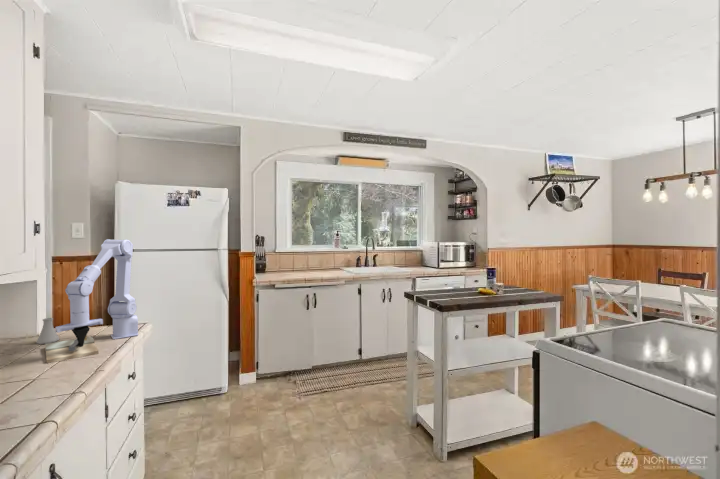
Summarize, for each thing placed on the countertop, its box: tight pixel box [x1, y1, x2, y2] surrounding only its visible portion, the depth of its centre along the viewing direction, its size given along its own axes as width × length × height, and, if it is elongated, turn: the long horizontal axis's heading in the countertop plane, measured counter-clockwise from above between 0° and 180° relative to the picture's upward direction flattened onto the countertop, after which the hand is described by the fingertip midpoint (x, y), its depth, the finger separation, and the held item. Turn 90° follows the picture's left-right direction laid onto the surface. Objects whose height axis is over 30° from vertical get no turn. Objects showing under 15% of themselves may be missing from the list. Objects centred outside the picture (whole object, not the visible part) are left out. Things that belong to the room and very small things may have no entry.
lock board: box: [44, 334, 99, 364], centre depth 138 cm, size 15×22×4 cm
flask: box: [35, 317, 60, 345], centre depth 149 cm, size 7×7×10 cm
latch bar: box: [69, 338, 84, 351], centre depth 136 cm, size 11×3×2 cm, turn 25°
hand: (80, 346), depth 136 cm, fingers closed, pressing on latch bar
